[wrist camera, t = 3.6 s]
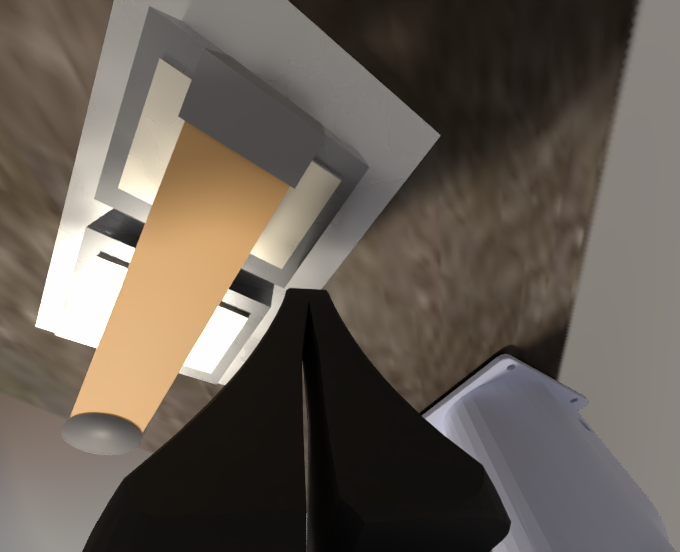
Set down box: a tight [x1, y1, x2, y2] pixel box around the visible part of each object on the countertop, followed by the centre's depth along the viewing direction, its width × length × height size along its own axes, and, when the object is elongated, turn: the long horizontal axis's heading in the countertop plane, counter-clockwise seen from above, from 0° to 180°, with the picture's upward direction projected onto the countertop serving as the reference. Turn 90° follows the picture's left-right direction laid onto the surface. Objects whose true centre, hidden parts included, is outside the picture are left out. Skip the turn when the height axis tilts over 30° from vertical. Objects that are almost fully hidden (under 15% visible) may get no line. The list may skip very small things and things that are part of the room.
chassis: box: [35, 0, 441, 385], centre depth 11 cm, size 10×16×3 cm, turn 146°
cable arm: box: [61, 48, 326, 455], centre depth 9 cm, size 13×2×2 cm, turn 145°
